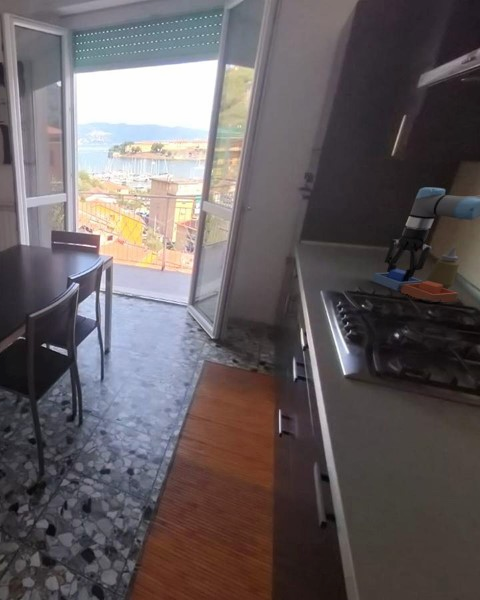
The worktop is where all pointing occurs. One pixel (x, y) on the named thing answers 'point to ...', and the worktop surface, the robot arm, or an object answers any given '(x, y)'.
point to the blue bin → (392, 281)
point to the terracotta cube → (430, 287)
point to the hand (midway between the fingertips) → (396, 281)
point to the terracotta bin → (417, 293)
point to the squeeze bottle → (445, 269)
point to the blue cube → (396, 275)
